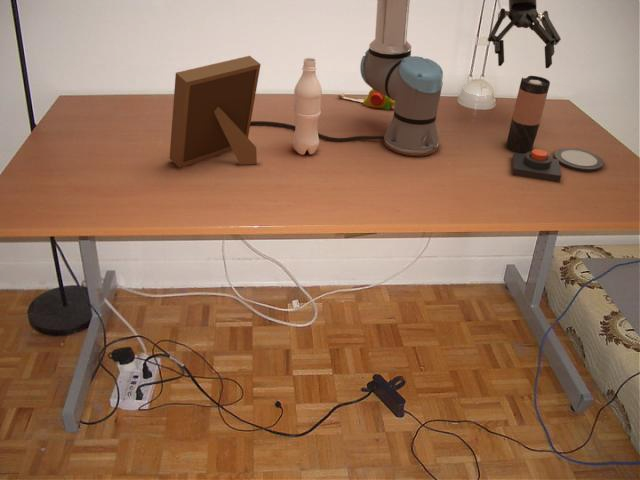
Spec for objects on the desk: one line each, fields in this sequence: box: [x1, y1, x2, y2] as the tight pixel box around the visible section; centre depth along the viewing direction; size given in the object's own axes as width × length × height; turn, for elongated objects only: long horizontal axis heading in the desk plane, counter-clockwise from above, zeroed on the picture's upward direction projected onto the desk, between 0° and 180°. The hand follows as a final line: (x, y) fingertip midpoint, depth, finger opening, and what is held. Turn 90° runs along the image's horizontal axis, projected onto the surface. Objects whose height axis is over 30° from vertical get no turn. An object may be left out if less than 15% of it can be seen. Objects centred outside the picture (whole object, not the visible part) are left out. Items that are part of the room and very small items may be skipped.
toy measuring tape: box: [338, 88, 395, 111], centre depth 203 cm, size 6×20×7 cm, turn 65°
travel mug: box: [505, 75, 551, 154], centre depth 177 cm, size 8×8×20 cm
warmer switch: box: [511, 150, 562, 183], centre depth 170 cm, size 12×10×4 cm
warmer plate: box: [553, 147, 604, 173], centre depth 177 cm, size 13×13×1 cm
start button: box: [531, 148, 548, 161], centre depth 169 cm, size 4×4×2 cm
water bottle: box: [291, 57, 323, 156], centre depth 167 cm, size 7×7×25 cm
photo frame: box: [169, 55, 261, 169], centre depth 159 cm, size 15×22×25 cm
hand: (525, 65), depth 180 cm, fingers open, 13 cm apart
